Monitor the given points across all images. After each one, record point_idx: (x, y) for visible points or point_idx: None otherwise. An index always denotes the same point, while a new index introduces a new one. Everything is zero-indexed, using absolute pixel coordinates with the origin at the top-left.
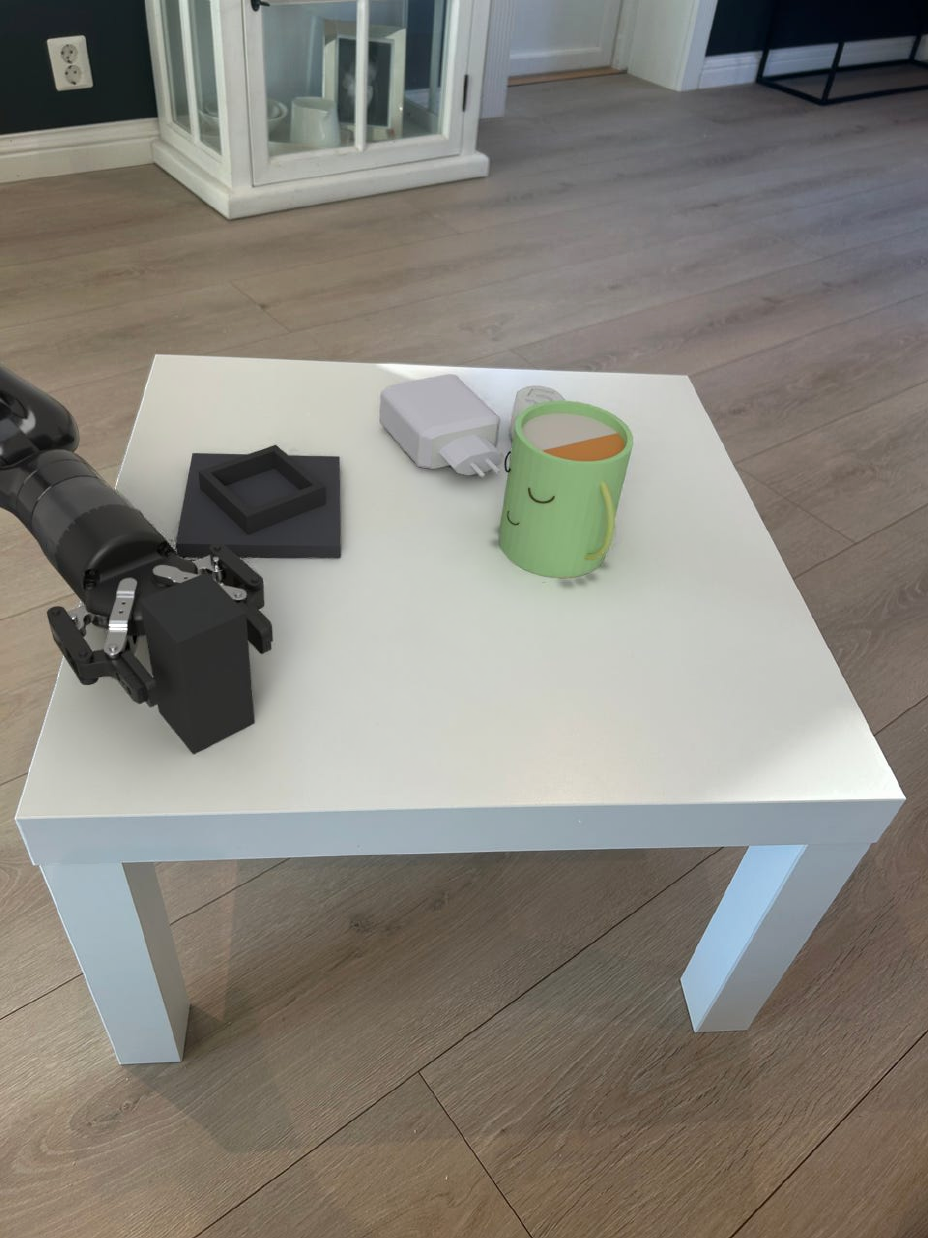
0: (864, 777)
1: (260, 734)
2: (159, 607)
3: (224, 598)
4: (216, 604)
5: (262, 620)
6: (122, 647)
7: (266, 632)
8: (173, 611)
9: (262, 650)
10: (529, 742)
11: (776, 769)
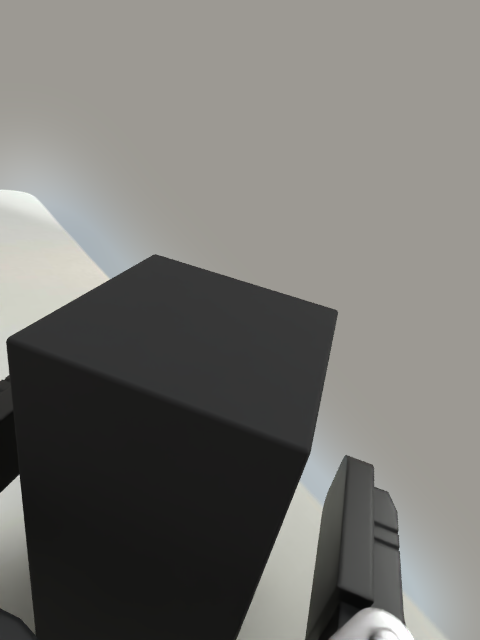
0: (18, 193)
1: None
2: (282, 377)
3: (131, 281)
4: (166, 287)
5: None
6: (355, 616)
7: None
8: (263, 346)
9: None
10: (43, 287)
11: (24, 210)
